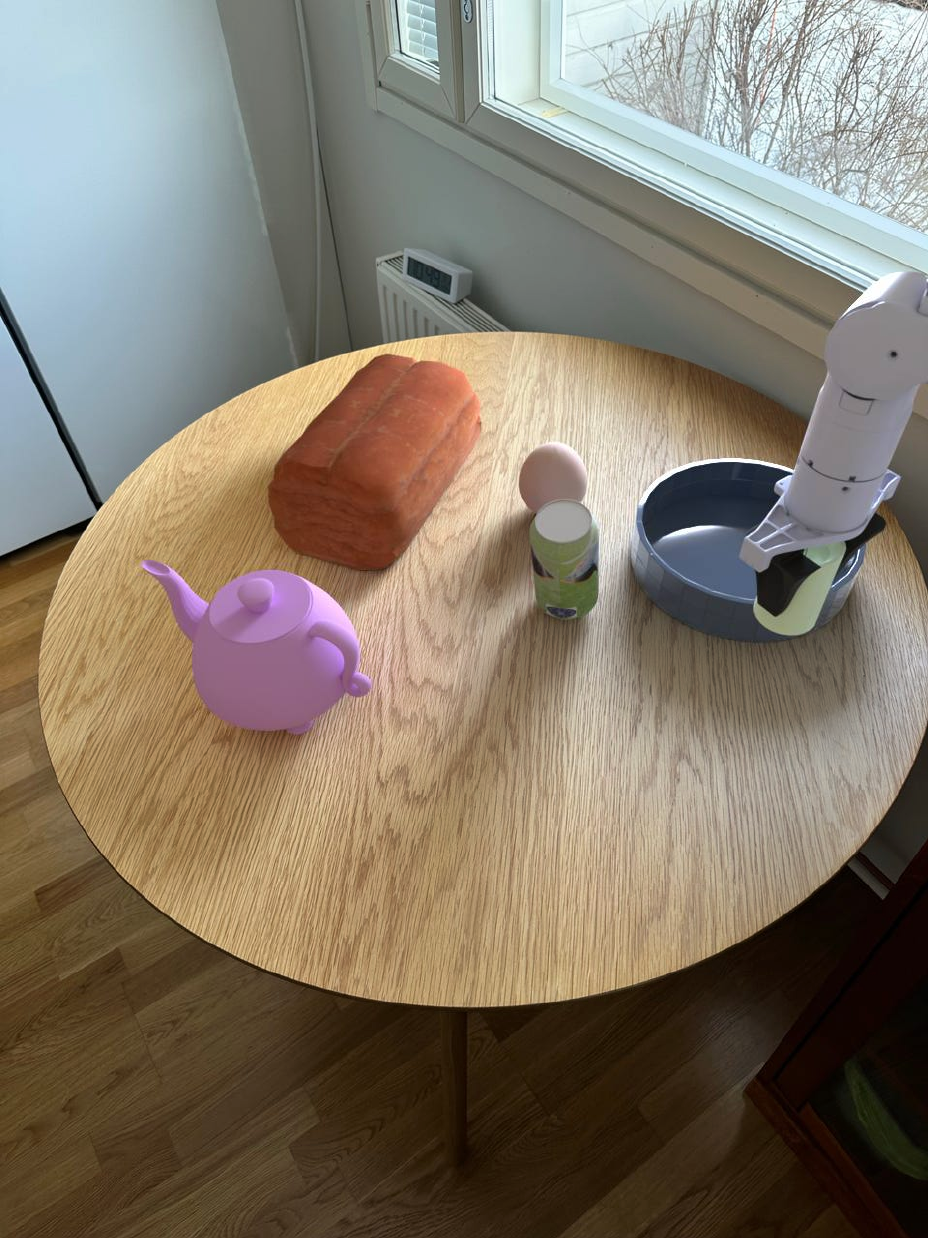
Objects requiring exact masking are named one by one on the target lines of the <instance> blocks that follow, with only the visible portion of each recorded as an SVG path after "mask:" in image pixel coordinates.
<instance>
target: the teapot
mask: <svg viewBox="0 0 928 1238" xmlns="http://www.w3.org/2000/svg"><path fill="white" fill-rule="evenodd" d="M141 567H142V569H143V570H144V571H146V572H147V574H149V575H151V576H152V578H154V579H156V580H157V582H158V583H159V584H160V585H161V586H162V587H163V589H164V591H165V593H166V595H167V598H168V601H169V604H170V607H171V611H172V614H173V616H174V619H175V622H176V624H177V626H178V628H179V629H180V631H181V632H182V634H183V635H184V636H185V637H186V638H187V639H188V640H189V641H190V642H191V643H192V649H191V668H192V676H193V682H194V685H195V688H196V692H197V694H198V696H199V698H200V700H201V702H202V704H203V705H204V706H205V707H206V708H207V710H208V711H210V712H211V713H212V714H213V715H214V716H216V717H217V718H219V719H220V720H222V721H223V722H225V723H226V724H229V725H232V726H234V727H237V728H241V729H243V730H244V729H245V730H251V731H257V732H272V731H273V732H274V731H283V730H285V731H286V733H288V734H290V735H293V736H294V735H297V736H299V735H303V734H305V733H307V732H308V731H309V730H310V729H311V728H312V726H313V724H314V720H315V719H317V718H318V717H320V716H322V715H323V714H325V713H326V712H328V711H330V710H331V709H332V708H333V707H334V706H336V704H337V703H338V702H339V701H340V700H341V699H342V698H343V697H344V696H345V695H346V694H347V695H349V696H351V697H354V698H362V697H366V696H367V695H368V694H369V693H370V692H371V689H372V685H373V684H372V683H373V682H372V680H371V679H370V678H369V676H367V675H365V674H364V673H361V672H358V670H359V665H360V661H361V649H360V643H359V639H358V635H357V632H356V630H355V628H354V626H353V624H352V622H351V620H350V618H349V617H348V615H347V614H346V612H345V611H344V609H343V607H341V606H340V604H339V603H338V602H337V601H336V600H335V599H334V598H333V597H332V596H330V594H329V593H328V592H326V591H325V590H323V589H322V588H320V587H319V586H317V585H315V584H314V583H312V582H311V581H309V580H307V579H306V578H305V577H304V578H303V577H301V576H299V575H297V574H294V573H291V572H289V571H284V570H279V569H262V570H256V571H252V572H248V573H246V574H242V575H240V576H237V577H236V578H234V579H232V580H231V581H229V582H228V583H226V584H225V585H224V586H223V587H221V588H220V589H219V590H218V591H217V592H216V593H215V595H214V596H213V597H212V598H211V600H210V602H209V603H208V602H207V601H206V600H204V599H202V597H200V596H199V595H198V594H197V593H196V592H194V590H193V589H192V588H191V587H190V586H189V585H188V583H187V582H186V580H184V579H183V578H182V577H181V576H180V574H178V573H177V572H176V571H175V570H174V569H173V568H171V567H170V566H168V565H167V564H165V563H162V562H160V561H158V560H153V559H145V560H142V562H141Z"/></svg>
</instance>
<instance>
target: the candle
mask: <svg viewBox="0 0 928 1238" xmlns="http://www.w3.org/2000/svg"><path fill="white" fill-rule="evenodd" d="M845 551H846V543H845V542H844V541H841V542H836V543H831V544H826V545H821V546H816V547H811V548H806V549H805V551H804V553H803V555H805V556H806V557H808V558H809V559H811V560H812V561H813V562H815V563H816V564H818V565H819V566H820V567H821V568H820V569H818V570H817V571H815V572H814V573H812V574H811V575H810V576H809V577H808V578H807V579H806V580H805V581H804V582H803V583H802V584H801V586H800V587H799V588H798V590H797V591H796V593H795V595H794V597H793V599H792V600H791V602H790V604H789V606H788V607H787V608H786V610H785V611H784V612H783V613H782V614H780V615H779V616H777V617H774V616H773V615H771V614H770V613H769V612H768V611H766V610H765V609H764V608H763V607H761V606H760V605H759V604H757V597H756V600H755V603H754V614H755V617H756V618H757V620H758V621H759V622H760V623H761V624H762V625H763V626H764V627H765V628H767V629H769V630H771V631H773V632H776V633H778V634H782V635H789V636H790V635H800V634H804V633H806V632H808V631H810V630H811V629H812V628H813V626H814V625H815V622H816V620H817V618H818V615H819V613H820V610H821V608H822V606H823V603H824V601H825V599H826V596H827V594H828V591H829V589H830V587H831V584H832V582H833V580H834V577H835V575H836V572H837V570H838V568H839V565H840V563H841V561H842V558H843V556H844V553H845Z"/></svg>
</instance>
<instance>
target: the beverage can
mask: <svg viewBox="0 0 928 1238" xmlns="http://www.w3.org/2000/svg"><path fill="white" fill-rule="evenodd" d="M528 533H529V544H530V552H531V555H530V556H531V564H532V575H533V584H534V592H535V593H534V594H535V601H536V604H537V606H538V607H539V609H540V610H541V611H542V612H543V613H544V614H545V615H548V616H549V617H551V618H553V619H556V620H563V621H570V620H575V619H579V618H581V617H584V616H586V615H587V614H589V613H590V612H591V611H592V610H593V609H594V608H595V606H596V605H597V603H598V600H599V593H600V589H599V588H600V587H599V586H600V583H599V582H600V581H599V580H600V577H599V576H600V527H599V524H598V521H597V519H596V518H595V516H594V515H593V514H592V512H591V511H590V509H589V508H588V507H587V505H585V504H583V503H582V502H581V503H580V502H578V501H574V500H569V499H561V500H555V501H552V502H550V503H548V504H546V505H544V506H543V507H542V508H541V509H540V510H539V511H538V513H537V514H536V516H535V517H534V518H533V520H532V521H531V524H530V527H529V532H528Z"/></svg>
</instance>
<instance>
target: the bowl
mask: <svg viewBox="0 0 928 1238" xmlns="http://www.w3.org/2000/svg"><path fill="white" fill-rule="evenodd" d="M793 472H794V469H791V468H789V467H787V466H783V465H780V464H775V463H771V462H766V461H762V460H755V459H745V458H733V457H731V458H712V459H706V460H700V461H694V462H690V463H687V464H685V465H682V466H679V467H676V468H673V469H671V470H669V471H668V472H666V473H665V474H663V475H661V476H660V477H658V478H657V479H656V480H654V481H653V482H652V484H651V485H649V487H647V489H646V490H645V491H644V492H643V493H642V496H641V498H640V500H639V503H638V504H637V507H636V513H635V520H634V527H633V533H632V539H631V549H630V563H631V568H632V571H633V574H634V577H635V579H636V582H637V583H638V585H639V586H640V588H641V590H642V591H643V593H644V594H645V595H646V596H647V598H648V599H650V601H651V602H653V604H655V605H656V606H657V607H658V608H659V609H660V610H661V611H662V612H664V613H665V614H667V615H668V616H669V617H671V618H673V619H675V620H676V621H678V622H679V623H681V624H683V625H685V626H687V627H689V628H692V629H694V630H696V631H699V632H702V633H704V634H707V635H710V636H713V637H717V638H721V639H724V640H731V641H736V642H746V643H772V642H773V643H774V642H782V641H787V640H791V639H792V640H793V639H796V638H799V637H802V636H806V635H808V634H810V633H813V632H815V631H816V630H819V629H820V628H822V627H823V626H825V625H826V624H828V623H830V622H831V621H832V620H833V618H835V617H836V616H837V614H839V612H840V611H841V610H842V609H843V606H844V604H845V603H846V601H847V599H848V598H849V596H850V594H851V592H852V589H853V587H854V584H855V582H856V580H857V578H858V575H859V573H860V571H861V568H862V566H863V564H864V561H865V556H866V550H867V543H866V544H864V545H863V546H862V547H861V548H860V549H859V550H858V551H857V552H856V553H855V554H854V555H853V556H852V557H851V558H850V559H849V561H848V562H847V563H846V564H845V566H844V567H843V568H842V569H841V571H840V572H839V573H838V574H837V576H836V577H835V578H834V580H833V582H832V584H831V587H830V589H829V591H828V594H827V596H826V599H825V601H824V603H823V606H822V608H821V610H820V613H819V615H818V618H817V620H816V622H815V625H814V626H813V628H812V629H811V630H810V631H808V632H806V633H804V634H800V635H790V636H789V635H782V634H778V633H776V632H773V631H771V630H769V629H767V628H765V627H764V626H763V625H762V624H761V623H760V622H759V621H758V620H757V618H756V617H755V614H754V603H755V600H756V597H757V583H756V573H755V569H754V568H752V567H751V566H749V565H748V564H747V563H745V562H744V561H743V560H742V559H741V558H739V555H740V552H741V548H742V545H743V542H744V538H745V537H746V535H747V532H748V531H749V530H750V529H751V528H753V527H755V526H757V525H759V524H761V523H762V522H763V521H764V519H765V518H766V517H767V515H768V514H769V512H770V511H771V510H772V508H773V507H774V506H775V504H776V503H777V502H778V500H779V499H780V498H781V496H780V495H778V494H777V493H776V492H775V491H774V488H775V485H776V483H777V482H778V481H780V480H782V479H784V478H785V477H787V476H791V475H793Z"/></svg>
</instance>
